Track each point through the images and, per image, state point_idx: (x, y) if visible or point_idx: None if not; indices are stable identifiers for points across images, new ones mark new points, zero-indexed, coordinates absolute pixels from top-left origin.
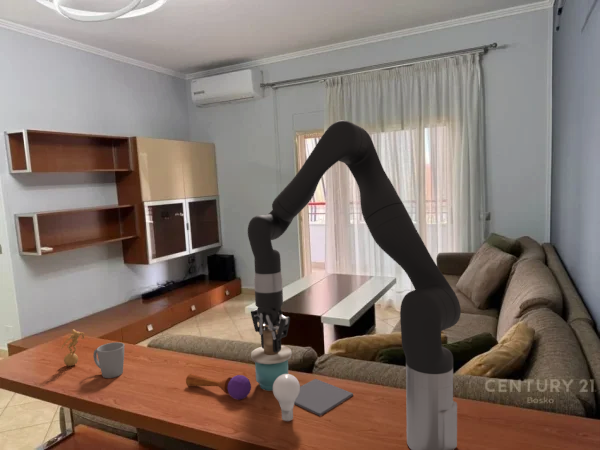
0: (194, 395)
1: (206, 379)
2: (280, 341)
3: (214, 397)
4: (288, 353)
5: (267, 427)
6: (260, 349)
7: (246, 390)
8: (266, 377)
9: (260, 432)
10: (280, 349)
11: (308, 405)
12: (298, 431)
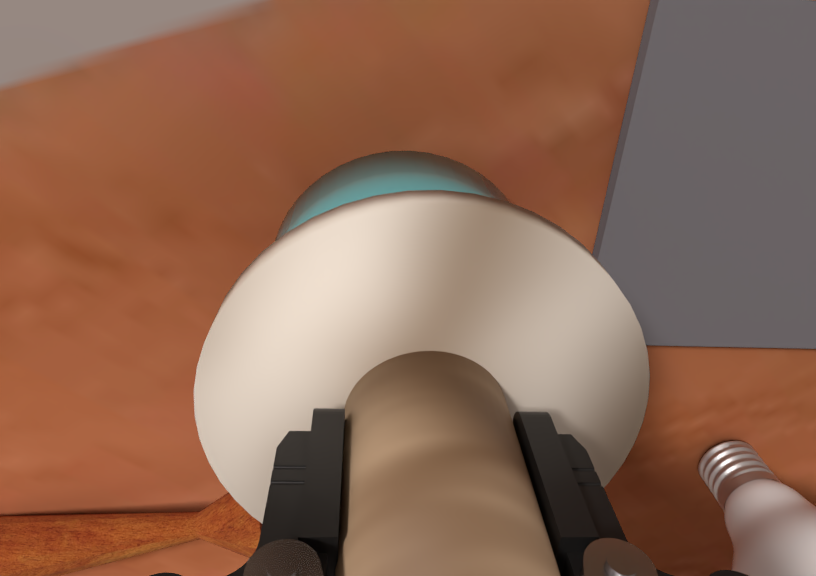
0: (147, 565)
1: (107, 559)
2: (615, 529)
3: None
4: (617, 342)
5: (662, 524)
6: (263, 434)
7: None
8: None
9: (656, 555)
10: (573, 446)
11: (779, 327)
12: (805, 475)
